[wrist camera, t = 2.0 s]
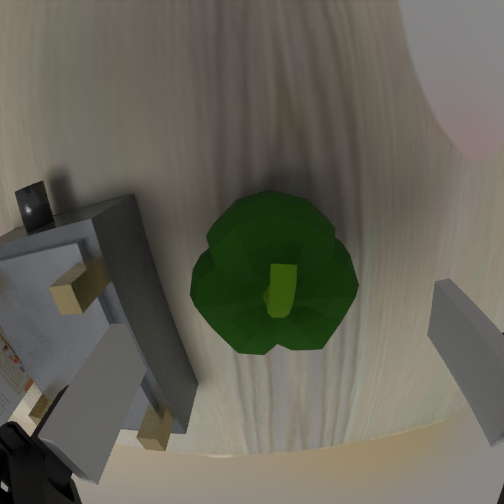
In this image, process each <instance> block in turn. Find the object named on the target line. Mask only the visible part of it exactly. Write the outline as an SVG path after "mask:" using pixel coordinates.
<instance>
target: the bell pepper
mask: <svg viewBox="0 0 504 504" xmlns="http://www.w3.org/2000/svg"><path fill="white" fill-rule="evenodd" d="M206 236H207V240H208V244H209V249H207V250H206V251H205V252H204V253H203V254H202V255H201V256H200V258H199V259H198V261H197V263H196V265H195V266H194V268H193V273H192V281H191V290H190V296H191V299H192V301H193V303H194V306H195V307H196V308H197V310H198V311H199V312H200V313H201V315H202V316H203V317H204V319H205V320H206V321H207V322H208V324H209V325H210V326H211V327H212V328H213V329H214V330H215V331H216V332H217V333H218V334H219V335H220V336H221V337H222V338H223V339H224V340H225V341H226V342H227V343H228V344H229V345H230V346H231V347H232V348H233V349H235V350H236V351H237V352H238V353H242V354H257V355H265V354H266V353H267V352H268V351H270V350H271V349H272V348H273V347H274V346H275V345H276V344H279V345H281V346H283V347H286V348H288V349H290V350H317V349H322V348H323V347H324V346H325V344H326V343H327V341H328V340H329V339H330V337H331V336H332V334H333V333H334V331H335V330H336V329H337V327H338V326H339V324H340V323H341V321H342V320H343V318H344V316H345V315H346V313H347V311H348V309H349V308H350V306H351V304H352V303H353V301H354V299H355V297H356V294H357V290H358V286H359V284H358V280H357V277H356V274H355V270H354V267H353V264H352V260H351V257H350V254H349V253H348V251H347V250H346V248H345V247H344V245H343V244H342V243H341V241H339V240H338V239H336V238H335V228H334V227H333V225H332V224H331V223H330V221H329V220H328V219H327V218H326V217H325V216H324V215H323V214H322V213H321V212H320V211H319V210H318V209H317V208H315V207H314V206H313V205H312V204H311V203H310V202H309V201H308V200H307V199H304V198H300V197H296V196H292V195H287V194H283V193H279V192H275V191H270V190H268V191H264V192H261V193H258V194H254V195H251V196H248V197H245V198H241V199H238V200H236V201H235V202H234V203H233V204H232V205H231V206H230V207H229V208H228V210H227V211H226V212H225V213H224V214H223V215H222V216H221V217H220V218H219V219H218V220H217V221H216V222H215V223H214V224H213V226H212V227H211V229H210V231H209V232H208V234H207V235H206Z"/></svg>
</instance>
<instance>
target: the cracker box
mask: <svg viewBox="0 0 504 504" xmlns="http://www.w3.org/2000/svg"><path fill="white" fill-rule="evenodd" d="M33 383H34V381H33V379H32V378H31V376H30V375H29V373H28V372H27V370H26V369H25V367H24V366H23V364H22V362H21V361H20V359H19V358H18V356H17V354H16V353H15V351H14V349H13V347H12V346H11V344H10V342H9V340H8V339H7V337H6V335H5V333H4V331H3V330H2V328H1V326H0V427H1V426H2V425H3V424H5V423H6V422H7V421H8V420H9V418H10V416H11V415H12V413H13V412H14V410H15V409H16V407H17V406H18V404H19V403H20V401H21V400H22V399H23V397H24V396H25V394H26V393H27V391H28V390H29V388H30V387H31V385H32V384H33Z"/></svg>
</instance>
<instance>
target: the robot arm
mask: <svg viewBox="0 0 504 504" xmlns="http://www.w3.org/2000/svg"><path fill="white" fill-rule="evenodd" d="M427 335H428V337H429V338H430V340H431V341H432V343H433V344H434V346H435V347H436V349H437V351H438V352H439V354H440V355H441V357H442V359H443V360H444V362H445V363H446V365H447V367H448V368H449V370H450V372H451V373H452V375H453V377H454V378H455V380H456V382H457V384H458V385H459V387H460V389H461V391H462V392H463V394H464V396H465V398H466V399H467V401H468V403H469V405H470V407H471V408H472V410H473V412H474V414H475V416H476V418H477V420H478V422H479V424H480V426H481V427H482V429H483V431H484V433H485V435H486V437H487V439H488V441H489V443H490V446H491V447H494V446H496V445H498V444H500V443H502V442H504V333H501V332H500V331H499V329H498V328H497V327H496V326H495V325H494V324H493V323H492V322H491V321H490V319H489V318H488V317H487V316H486V315H485V314H484V313H483V312H482V311H481V310H480V309H479V308H478V307H477V306H476V305H475V303H474V302H473V301H472V300H471V299H470V298H469V297H468V296H467V295H466V294H465V293H464V292H463V291H462V290H461V289H460V288H459V287H458V286H457V285H456V284H455V283H454V282H453V281H452V280H451V279H450V278H449V279H445V280H440V281H435V284H434V293H433V301H432V309H431V316H430V322H429V328H428V334H427ZM146 371H147V369H146V367H145V365H144V363H143V360H142V358H141V356H140V354H139V352H138V350H137V348H136V346H135V343H134V341H133V339H132V337H131V334H130V332H129V330H128V328H127V325H126V323H117V324H111V325H110V327H109V328H108V329H107V331H106V332H105V334H104V335H103V336H102V338H101V339H100V341H99V342H98V344H97V345H96V346H95V348H94V349H93V351H92V352H91V354H90V355H89V357H88V358H87V359H86V361H85V362H84V364H83V365H82V367H81V368H80V370H79V371H78V373H77V374H76V376H75V377H74V379H73V380H72V382H71V383H70V385H67V386H66V387H65V388H64V389H62V390H61V391H60V392H59V393H58V394H57V396H56V397H55V399H54V400H53V402H52V403H53V404H51V405H50V407H49V408H48V412H47V411H46V413H45V414H44V416H43V418H42V419H41V421H40V422H39V424H38V426H37V427H36V429H35V431H34V432H33V434H32V436H31V437H29V435H28V434H27V433H26V432H25V431H24V430H23V429H22V427H21V426H20V425H19V424H18V423H17V422H14V421H10V422H6V423H5V424H3V425H2V426H1V427H0V504H82V503H81V500H80V497H79V494H78V491H77V488H76V485H75V483H74V481H73V479H71V475H72V473H74V474H75V475H76V476H77V477H79V478H80V479H81V480H82V481H86V482H89V483H92V484H96V485H98V483H99V480H100V478H101V475H102V473H103V470H104V468H105V465H106V463H107V460H108V458H109V456H110V453H111V451H112V448H113V446H114V444H115V441H116V439H117V437H118V434H119V432H120V429H121V427H122V425H123V422H124V420H125V418H126V416H127V413H128V411H129V409H130V406H131V404H132V402H133V400H134V397H135V395H136V393H137V391H138V388H139V386H140V384H141V382H142V380H143V377H144V375H145V373H146ZM1 481H2V482H3V483H4V484H5V485H6V486H8V492H6V491H5V490H3V489H2V488H1ZM497 504H504V485H503V488H502V491H501V494H500V497H499V500H498V502H497Z"/></svg>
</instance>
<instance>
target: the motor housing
mask: <svg viewBox="0 0 504 504" xmlns="http://www.w3.org/2000/svg"><path fill="white" fill-rule="evenodd" d="M15 195H16V199H17V203H18V206H19V210H20V213H21V217H22V220H23V223H24V226H22V227H19V228H17V229H14V230H12V231H10V232H8V233H6V234H4V235H3V236H1V237H0V326H1V328H2V330H3V331H4V333H5V335H6V337H7V339H8V340H9V342H10V344H11V346H12V347H13V349H14V351H15V353H16V354H17V356H18V358H19V359H20V361H21V362H22V364H23V366H24V367H25V369H26V370H27V372H28V373H29V375H30V376H31V378H32V379H33V381H34V382H35V384H36V385H37V387H38V388H39V389H40V391H41V392H42V395H41V397H40V398H39V400H38V401H37V403H36V404H35V406H34V408H33V409H32V411H31V412H30V414H29V415H28V416H29V417H30V418H31V419H32V420H33V422H34V423H35V424H36V425H37V426H38V424H39V422H40V421H41V419H42V418H43V416H44V414H45V413H46V411H47V412H48V408H49V407H50V405H51V404H53V403H52V402H53V400H54V399H55V397H56V396H57V394H58V393H59V392H60V391H61V390H62V389H64V388H65V387H66V386H67V385H70V383H71V382H72V380H73V379H74V377H75V376H76V374H77V373H78V371H79V370H80V368H81V367H82V365H83V364H84V362H85V361H86V359H87V358H88V357H89V355H90V354H91V352H92V351H93V349H94V348H95V346H96V345H97V344H98V342H99V341H100V339H101V338H102V336H103V335H104V334H105V332H106V331H107V329H108V328H109V327H110V325H111V324H117V323H126V325H127V328H128V330H129V332H130V334H131V337H132V339H133V341H134V343H135V346H136V348H137V350H138V352H139V354H140V356H141V358H142V360H143V363H144V365H145V367H146V369H147V371H146V373H145V375H144V377H143V380H142V382H141V384H140V386H139V388H138V391H137V393H136V395H135V397H134V400H133V402H132V404H131V406H130V409H129V411H128V413H127V416H126V418H125V420H124V422H123V425H122V427H121V429H128V430H137V431H139V432H138V434H137V437H136V438H137V439H138V440H139V442H140V443H141V444H142V445H143V447H144V448H145V449H148V450H158V451H166V447H167V443H168V440H169V436H170V433H176V434H186V432H187V427H188V423H189V419H190V415H191V411H192V407H193V403H194V399H195V395H196V391H197V387H198V382H197V380H196V378H195V375H194V373H193V370H192V368H191V365H190V363H189V361H188V358H187V355H186V353H185V350H184V348H183V345H182V343H181V340H180V337H179V335H178V332H177V329H176V327H175V324H174V321H173V319H172V316H171V313H170V310H169V307H168V304H167V302H166V299H165V296H164V293H163V290H162V287H161V284H160V281H159V278H158V275H157V272H156V268H155V265H154V262H153V259H152V256H151V252H150V249H149V246H148V242H147V239H146V235H145V232H144V228H143V225H142V221H141V218H140V214H139V210H138V206H137V203H136V199H135V195H134V194H131V195H127V196H123V197H119V198H115V199H112V200H108V201H104V202H101V203H97V204H93V205H90V206H86V207H83V208H79V209H76V210H72V211H69V212H66V213H62V214H59V215H56V216H53V215H52V211H51V208H50V204H49V201H48V197H47V193H46V189H45V185H44V181H40V182H37V183H35V184H32V185H30V186H27V187H25V188H22V189H20V190H18V191H16V192H15Z"/></svg>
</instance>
